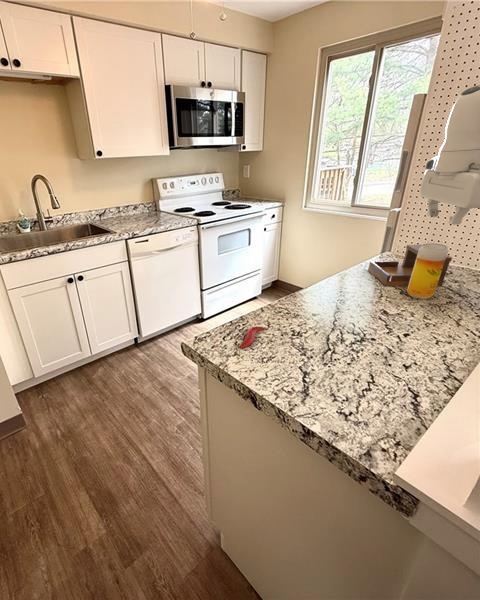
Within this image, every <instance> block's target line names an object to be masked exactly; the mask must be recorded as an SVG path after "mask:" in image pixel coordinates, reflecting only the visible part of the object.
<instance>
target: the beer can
mask: <svg viewBox="0 0 480 600" xmlns="http://www.w3.org/2000/svg"><path fill="white" fill-rule="evenodd" d="M421 245H422V246H421V247H420V248H419V251H418V255H417V258H416V261H415V265H414V268H413V272H412V275H411V278H410V282H409V285H408V286H407V288H406V293H408V296H410V297H412V298H415V299H422V300H423V299H424V300H426V299H430V298H431V297H433V296H434V295H435V292H436V290H437V287H438V286H437V284H438V281H439V278H440V275H441V272H442V269H443V266H444V263H445V260H446V257H447V255H448V254H449V247H448V245H445V244H442V243H434V242H433V243H431V242H430V243H429V242H428V243H423V244H421Z"/></svg>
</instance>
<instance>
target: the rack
mask: <svg viewBox="0 0 480 600" xmlns="http://www.w3.org/2000/svg"><path fill="white" fill-rule="evenodd" d="M422 245H423V244H406V248H405V249H406V250H405V253H404V257H403V260H402V263H401V266H400V265H399V263H400V261H399V260H375V261H373V260H370V261H369V265H368V269H367V271H368V272H369V273H370V274H371V275H372V276H374V277H375V278H376V279H377V280H378V281H379V282H380V283H381V284H383V285H384V286H387V287H389V286H390V287H408V285H409V282H410V278H411V275H412V272H413V268H414V265H415V261H416V258H417V255H418V251H419V248H420V247H421V246H422ZM452 260H453V257H451V256H450V255H448V254H447V257H446V260H445V263H444V266H443V269H442V272H441V275H440V278H439V281H438V284H437V287H442V286H443V283H444V280H445V278H446V274H447V272H448V269H449V265H450V263H451V262H452Z"/></svg>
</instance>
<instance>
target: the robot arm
mask: <svg viewBox="0 0 480 600" xmlns="http://www.w3.org/2000/svg"><path fill="white" fill-rule="evenodd" d="M451 108H452V109H451V111H450V113H449V117H448V119H447V123H446V127H445V129H444V135H445V136H444V138H445V139H444V142H443V143H442V145H441V146H440V148H439V151H438V155H436V156H435V157H433V158H431V159H429V160H427V161H426V162H425V164H424V170H425V172H424V174H423V177H422V180H421V183H420V184H421V185H420V189H419V194H420V197H421V198H425V199H428V200H427V209H428V210H427V214H426V216H428V217H430V218H437V217H438V216H439V213H440V209H439V204H440V203H442V204H443V203H444V204H448V205H452V206H454V207H455V209H454V211H455V213H454V214H453V215H451V216H449V220H448V223H449V224H451V225H454V226H455V225H460V224H462V221H463V218H464V217H465V216H466V215H467V214H468V213H469V212H470V210H471V209H480V84H478V85H475V86H472V87H469V88H467V89H465V90H464V91H462V92H461V93H460V94H459V95H458V97H457V98H456V100H455V102H454V104H453V106H452V107H451Z"/></svg>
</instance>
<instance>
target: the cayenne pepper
mask: <svg viewBox="0 0 480 600" xmlns="http://www.w3.org/2000/svg"><path fill="white" fill-rule="evenodd" d="M263 330H265V327H263V326H252V327H250V328H247V330H246V333H245V338H244V339H243V341H242V342H241V344H240V345H238V347H237V348H238V349H244V348H248V347H250V346H252V345H253V344H254V342H255V340H256V334H257V333H258V332H260V331H263Z"/></svg>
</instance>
